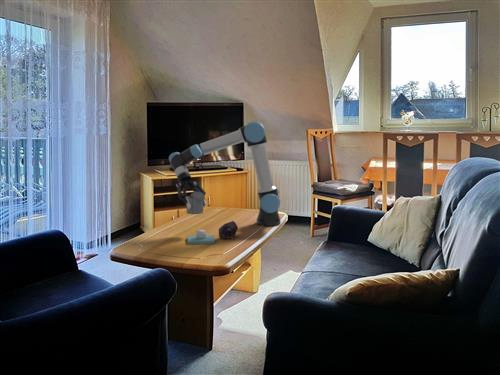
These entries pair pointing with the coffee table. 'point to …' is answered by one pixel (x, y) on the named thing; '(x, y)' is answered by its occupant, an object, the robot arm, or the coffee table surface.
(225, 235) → the rock
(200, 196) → the elbow
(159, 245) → the coffee table surface
